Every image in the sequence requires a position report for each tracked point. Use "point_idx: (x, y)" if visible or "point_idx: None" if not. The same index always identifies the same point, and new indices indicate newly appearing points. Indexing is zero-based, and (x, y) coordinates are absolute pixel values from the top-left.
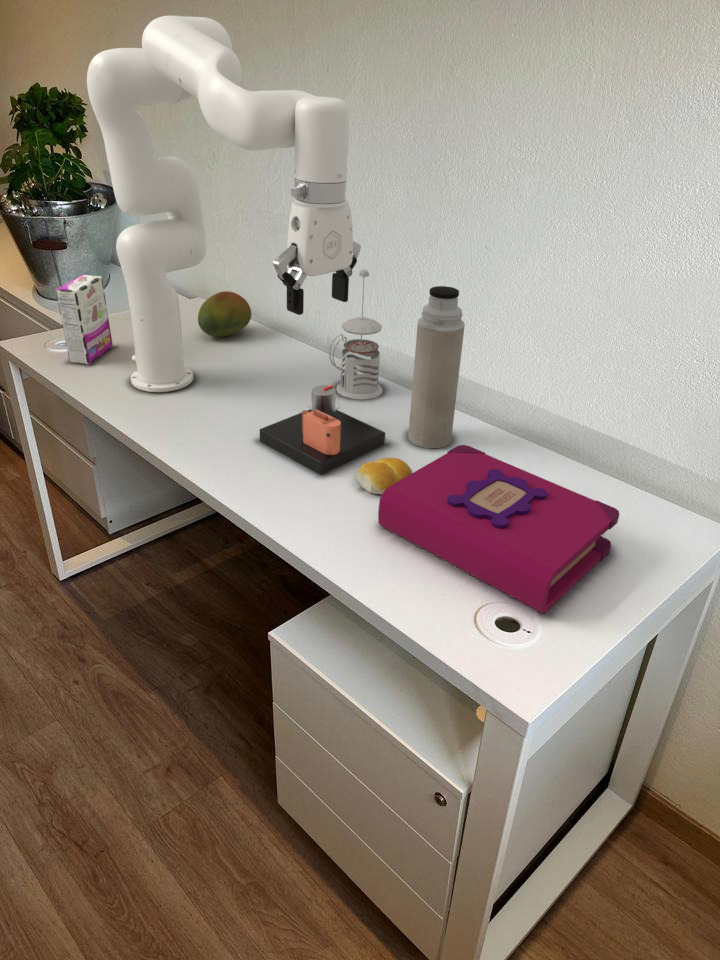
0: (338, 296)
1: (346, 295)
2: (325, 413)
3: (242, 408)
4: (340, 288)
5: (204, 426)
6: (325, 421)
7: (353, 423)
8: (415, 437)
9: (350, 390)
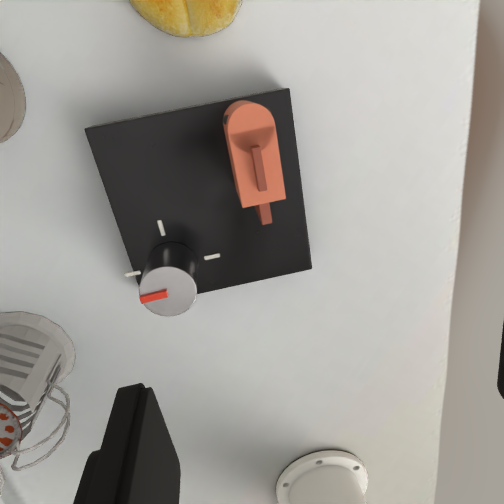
0: (162, 442)
1: (126, 416)
2: (179, 249)
3: (266, 368)
4: (151, 487)
5: (350, 340)
6: (260, 141)
7: (132, 202)
8: (14, 85)
9: (52, 344)
